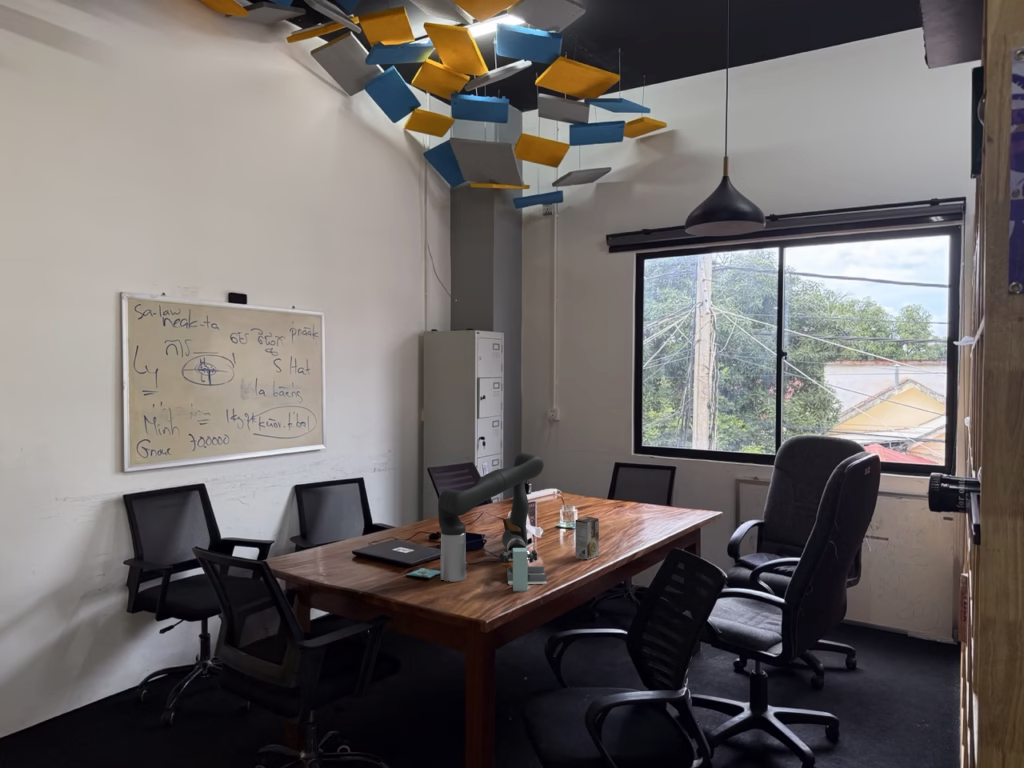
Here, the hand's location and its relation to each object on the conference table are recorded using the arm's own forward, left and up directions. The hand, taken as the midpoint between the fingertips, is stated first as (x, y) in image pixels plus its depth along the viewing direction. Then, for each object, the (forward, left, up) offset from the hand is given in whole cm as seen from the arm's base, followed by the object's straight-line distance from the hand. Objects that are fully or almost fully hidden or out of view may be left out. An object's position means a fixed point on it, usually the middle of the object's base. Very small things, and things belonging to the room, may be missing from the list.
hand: (519, 560), depth 244 cm
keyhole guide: (+3, +5, -8) cm, 10 cm away
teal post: (0, -7, -8) cm, 11 cm away
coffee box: (+30, +34, -8) cm, 46 cm away
